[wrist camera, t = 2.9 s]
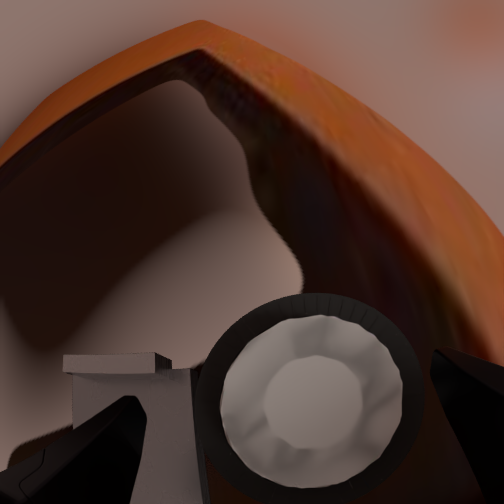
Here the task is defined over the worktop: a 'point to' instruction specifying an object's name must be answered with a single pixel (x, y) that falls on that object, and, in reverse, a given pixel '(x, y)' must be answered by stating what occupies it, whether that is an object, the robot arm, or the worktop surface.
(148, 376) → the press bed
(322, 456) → the push button
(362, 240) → the worktop surface
